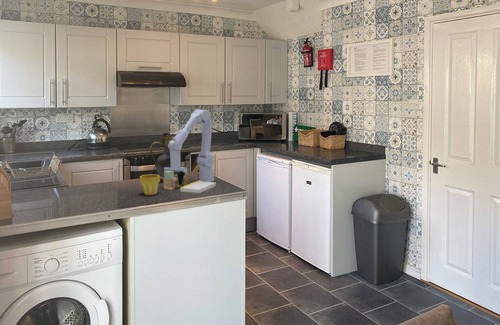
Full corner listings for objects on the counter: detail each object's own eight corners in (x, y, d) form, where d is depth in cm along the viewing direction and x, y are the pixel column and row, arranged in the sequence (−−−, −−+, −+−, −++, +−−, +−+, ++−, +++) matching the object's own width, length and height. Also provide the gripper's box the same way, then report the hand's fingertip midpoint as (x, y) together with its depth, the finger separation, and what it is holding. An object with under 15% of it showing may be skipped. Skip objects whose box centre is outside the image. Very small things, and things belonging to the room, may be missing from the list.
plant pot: (139, 192, 233) (138, 174, 232) (158, 190, 237) (158, 173, 236) (141, 196, 224) (141, 178, 222) (161, 195, 228) (161, 177, 226)
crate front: (167, 177, 244) (167, 170, 243) (174, 178, 242) (173, 171, 242) (164, 178, 240) (163, 171, 239) (170, 179, 239) (170, 172, 238)
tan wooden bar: (180, 183, 258) (180, 173, 257) (187, 183, 256) (187, 173, 255) (163, 189, 241) (163, 178, 240) (171, 189, 239) (171, 179, 238)
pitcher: (184, 180, 264) (182, 132, 259) (153, 183, 255) (151, 133, 250) (178, 177, 274) (177, 131, 269) (149, 180, 265) (147, 132, 260)
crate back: (181, 173, 256) (181, 166, 256) (187, 173, 255) (186, 167, 254) (177, 174, 253) (177, 167, 252) (183, 175, 251) (183, 168, 251)
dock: (198, 184, 254) (198, 180, 254) (216, 185, 250) (216, 182, 249) (180, 191, 236) (180, 187, 236) (199, 193, 231) (199, 189, 231)
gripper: (160, 161, 245) (161, 184, 247) (182, 162, 240) (183, 186, 242) (167, 159, 252) (168, 181, 254) (189, 160, 246) (189, 183, 248)
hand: (176, 183), depth 248 cm, fingers closed on tan wooden bar, 5 cm apart
